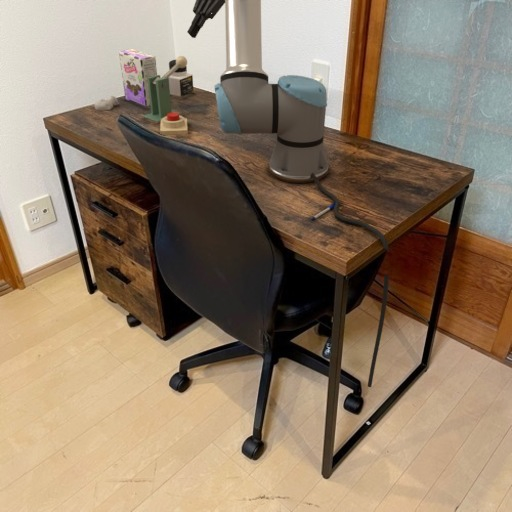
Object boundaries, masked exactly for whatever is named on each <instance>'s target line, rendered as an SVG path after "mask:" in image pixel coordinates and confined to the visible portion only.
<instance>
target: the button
mask: <svg viewBox="0 0 512 512" xmlns="http://www.w3.org/2000/svg"><path fill="white" fill-rule="evenodd" d="M179 113H180V112H179ZM179 113H175V112H172V113H168V114H167V120H168V121H178V120H179V116H180V114H179Z"/></svg>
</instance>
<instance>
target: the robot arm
mask: <svg viewBox="0 0 512 512" xmlns="http://www.w3.org/2000/svg"><path fill="white" fill-rule="evenodd" d="M223 6H224V8H225V9H224V10H225V11H224V12H225V13H224V14H225V15H224V16H225V17H224V18H225V64H226V65H225V68H226V69H225V70H224V71H223V73H222V74H220V77H219V78H220V83H219V82H218V83H216V84H214V87H213V88H214V93H215V101H216V108H217V114H218V120H219V126H220V129H221V131H222V132H223V133H225V134H228V135H229V134H231V135H239V136H241V135H244V134H245V135H246V134H247V135H248V134H250V135H253V134H256V135H257V134H259V135H260V134H263V135H264V134H266V135H267V134H268V135H269V134H276V143H275V146H274V148H273V151H272V154H271V157H270V160H269V163H268V166H269V167H268V170H269V173H270V175H271V176H273V177H274V178H276V179H277V180H280V181H284V182H286V183H294V184H308V183H313V182H314V183H315V185H316V186H317V188H318V189H319V191H321V192H322V193H323V194H324V195H325V196H327V197H328V198H330V199H332V200H333V201H334V203H335V202H336V203H335V207H334V208H333V214H334V216H335V217H336V218H337V219H339V220H340V221H342V222H345V223H348V224H351V225H356V226H359V227H362V228H364V229H366V230H368V231H370V232H372V233H373V234H376V236H377V237H378V238H379V239H380V242H381V244H382V246H383V249H384V250H386V251H388V250H390V247H389V244H388V241H387V239H386V237H385V235H384V234H383V233H382V232H381V231H380V230H379V229H377V228H376V227H373V226H372V225H369V224H368V223H366V222H364V221H361V220H356V219H353V218H349V217H345V216H344V215H341V214H340V213H339V208H340V204H339V202H340V200H339V198H337V196H336V195H334V193H331V191H329V190H327V189H326V188H325V187H324V186H323V185H322V183H321V180H322V179H324V178H325V177H327V176H328V173H329V161H328V157H327V153H326V149H325V145H324V135H325V126H326V125H325V124H326V123H325V122H326V111H327V106H328V103H327V93H328V92H327V88H326V86H325V85H324V84H323V83H322V82H321V81H319V80H316V79H315V78H311V77H308V76H303V75H295V74H287V75H282V76H280V77H279V78H278V80H277V83H269V74H268V73H267V72H266V71H265V70H264V69H263V56H262V55H263V52H262V48H263V47H262V0H195V2H194V5H193V8H192V12H193V13H194V14H195V15H194V17H193V19H192V21H191V24H190V26H189V28H188V29H187V32H186V33H187V34H188V35H189V36H190V37H191V38H192V39H196V38H197V36H198V34H199V32H200V30H201V29H202V28H203V27H204V25H205V23H206V21H208V20H209V19H210V20H213V19H214V18H215V17H216V15H217V14H218V13H219V11H220V10H221V9H222V7H223ZM389 279H390V274H384V275H383V289H382V292H383V293H382V301H381V307H380V315H379V321H378V326H377V332H376V336H375V337H376V338H375V343H374V348H373V353H372V358H371V364H370V367H369V368H370V369H369V375H368V379H367V380H368V381H367V387H368V388H372V386H373V379H374V375H375V369H376V364H377V358H378V353H379V348H380V343H381V339H382V333H383V328H384V323H385V316H386V309H387V302H388V295H389V284H390V283H389V281H390V280H389Z"/></svg>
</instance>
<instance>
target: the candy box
mask: <svg viewBox="0 0 512 512" xmlns="http://www.w3.org/2000/svg"><path fill="white" fill-rule="evenodd" d="M118 55H119V63H120V69H121V70H120V71H121V76H122V84H123V91H124V98H125V99H124V100H126V101H128V102H129V101H132V102H135V103H137V104H140V105H142V106H144V107H150V98H149V89H148V80H147V78H148V77H152V76H156V75H158V73H157V72H158V71H157V60H156V56H155V55H151V54H148V53H146V52H144V51H140V50H137V49H135V48H130V49H129V48H128V49H125V50H119V51H118Z"/></svg>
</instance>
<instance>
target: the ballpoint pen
mask: <svg viewBox="0 0 512 512" xmlns="http://www.w3.org/2000/svg"><path fill="white" fill-rule="evenodd" d="M335 203H336V202H335V201H334V202H333V203H332V204H330V205H329V206H328V207H326V208H325V209H323V210H322V211H320V212H319V213H317V214H315V215H314V216H313V217H311V221H315V220H316V219H318V218H319V217H321V216H323V215H324V214H326V213H327V212H329V211H331V210H333V209H334V207H335ZM340 203H341V202H340V201H339V205H340Z"/></svg>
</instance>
